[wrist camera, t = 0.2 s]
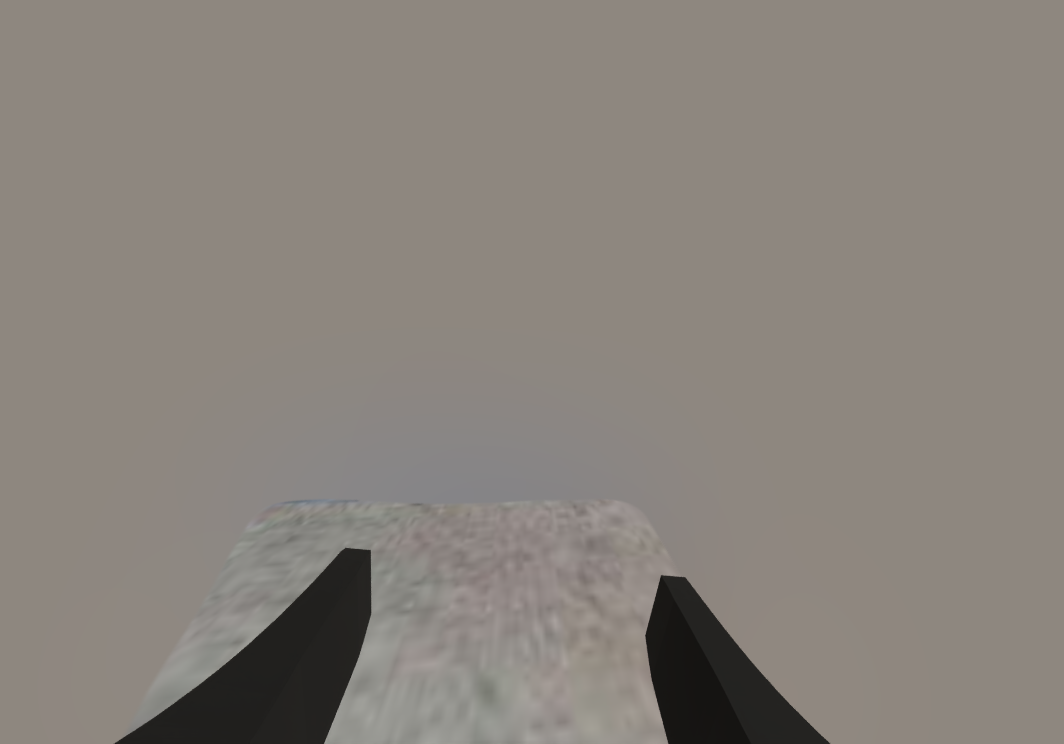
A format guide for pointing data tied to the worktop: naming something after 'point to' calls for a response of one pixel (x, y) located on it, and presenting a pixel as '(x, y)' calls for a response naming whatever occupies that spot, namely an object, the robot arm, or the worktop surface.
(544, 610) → the worktop surface
